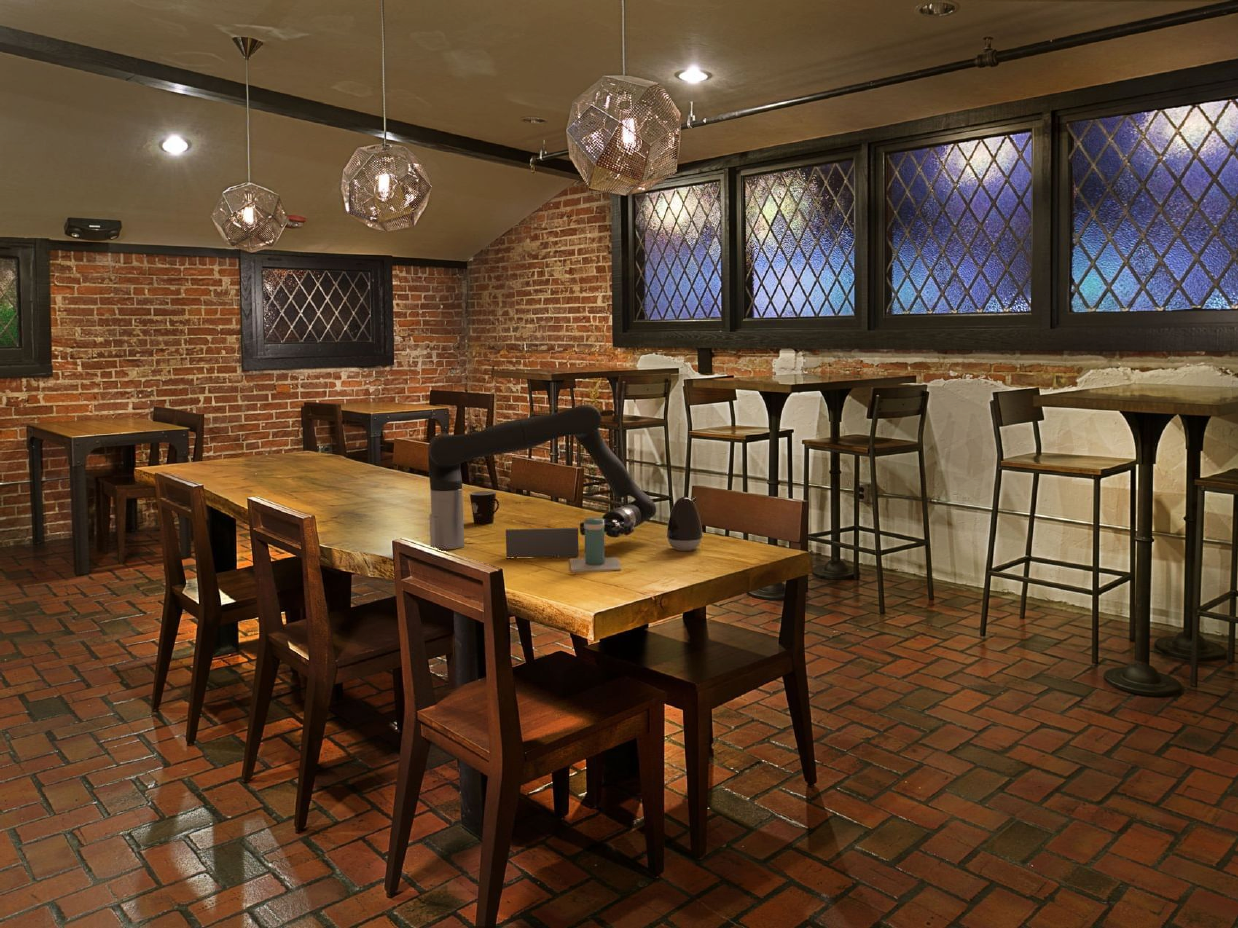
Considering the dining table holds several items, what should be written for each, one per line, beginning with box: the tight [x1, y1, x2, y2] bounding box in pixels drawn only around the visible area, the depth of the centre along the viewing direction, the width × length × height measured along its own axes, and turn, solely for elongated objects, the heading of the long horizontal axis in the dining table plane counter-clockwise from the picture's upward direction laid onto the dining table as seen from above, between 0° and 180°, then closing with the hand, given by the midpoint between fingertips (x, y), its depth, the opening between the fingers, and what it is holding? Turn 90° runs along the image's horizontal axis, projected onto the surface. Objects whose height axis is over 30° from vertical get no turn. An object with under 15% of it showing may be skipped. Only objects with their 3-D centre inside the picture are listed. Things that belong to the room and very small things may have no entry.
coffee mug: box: [469, 490, 500, 526], centre depth 327 cm, size 12×9×10 cm
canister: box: [584, 516, 606, 565], centre depth 265 cm, size 5×5×12 cm
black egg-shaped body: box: [666, 496, 703, 552], centre depth 284 cm, size 10×10×15 cm
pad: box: [569, 557, 622, 573], centre depth 266 cm, size 13×13×1 cm
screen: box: [505, 527, 580, 558], centre depth 276 cm, size 20×2×8 cm, turn 94°
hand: (597, 532), depth 266 cm, fingers open, 8 cm apart
